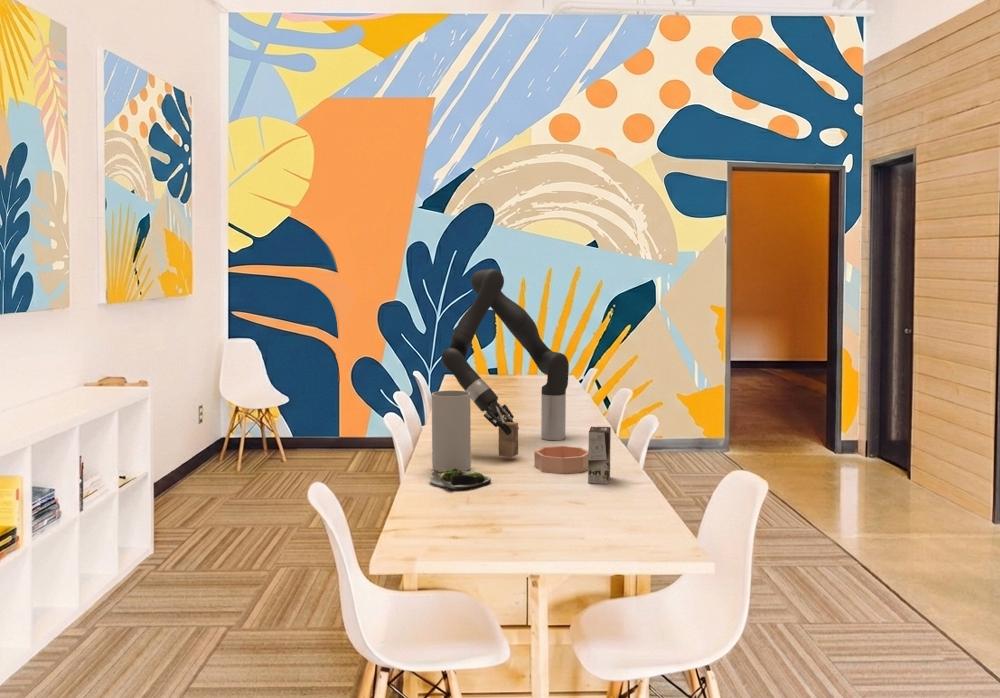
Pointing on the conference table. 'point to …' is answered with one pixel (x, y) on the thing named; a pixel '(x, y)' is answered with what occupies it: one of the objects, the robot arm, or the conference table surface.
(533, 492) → the conference table surface
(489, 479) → the salad plate
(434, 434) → the cylinder vase
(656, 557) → the conference table surface
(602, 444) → the coffee box
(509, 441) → the walnut block
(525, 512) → the conference table surface
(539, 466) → the bowl
